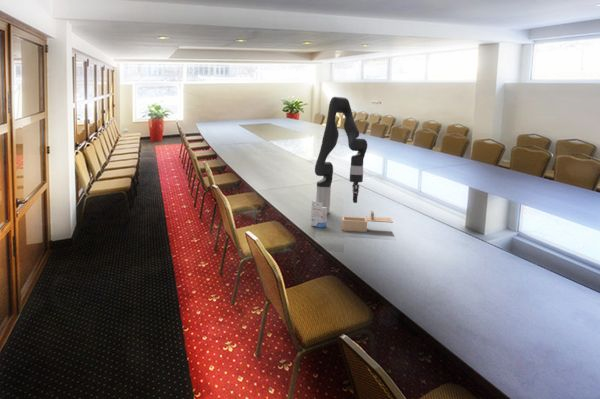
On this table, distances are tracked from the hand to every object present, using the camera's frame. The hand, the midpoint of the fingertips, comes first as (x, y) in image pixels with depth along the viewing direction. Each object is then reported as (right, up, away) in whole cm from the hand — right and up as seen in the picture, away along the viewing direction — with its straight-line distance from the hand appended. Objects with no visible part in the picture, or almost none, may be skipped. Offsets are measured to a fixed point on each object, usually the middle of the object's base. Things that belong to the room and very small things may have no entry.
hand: (354, 201), depth 234 cm
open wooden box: (0, -16, +3) cm, 16 cm away
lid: (+14, -11, 0) cm, 18 cm away
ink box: (-21, -15, +7) cm, 26 cm away
